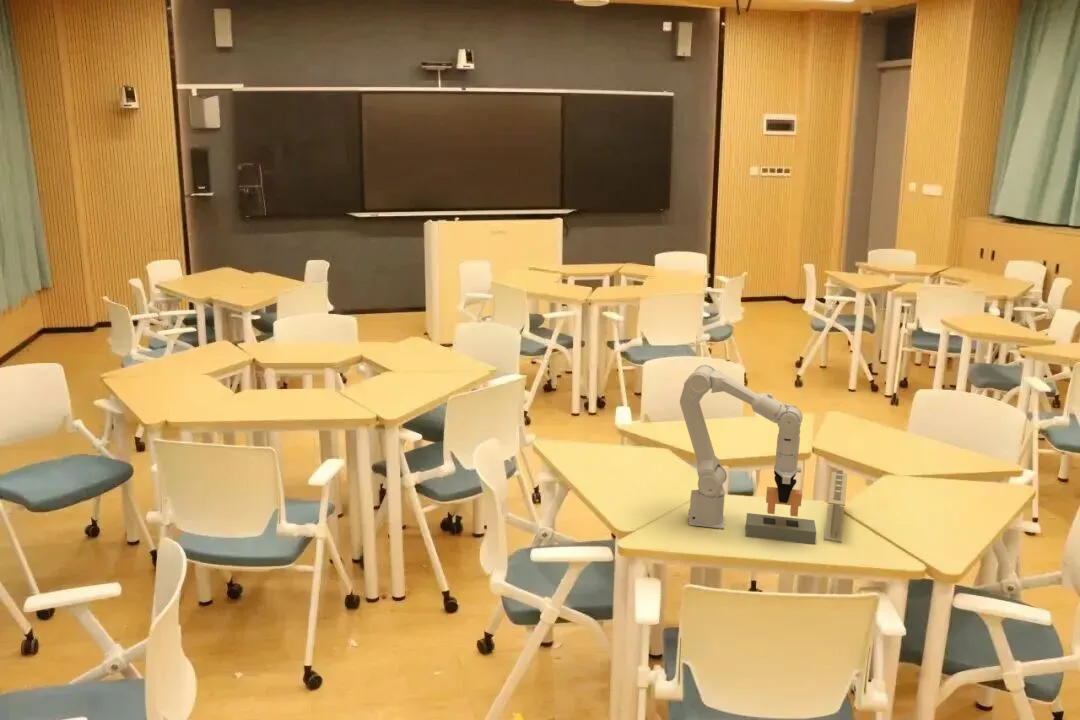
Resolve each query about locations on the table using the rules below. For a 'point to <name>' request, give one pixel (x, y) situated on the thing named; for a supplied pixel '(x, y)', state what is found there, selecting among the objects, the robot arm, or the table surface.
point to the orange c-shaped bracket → (793, 501)
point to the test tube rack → (836, 507)
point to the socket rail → (780, 528)
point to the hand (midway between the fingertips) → (782, 499)
